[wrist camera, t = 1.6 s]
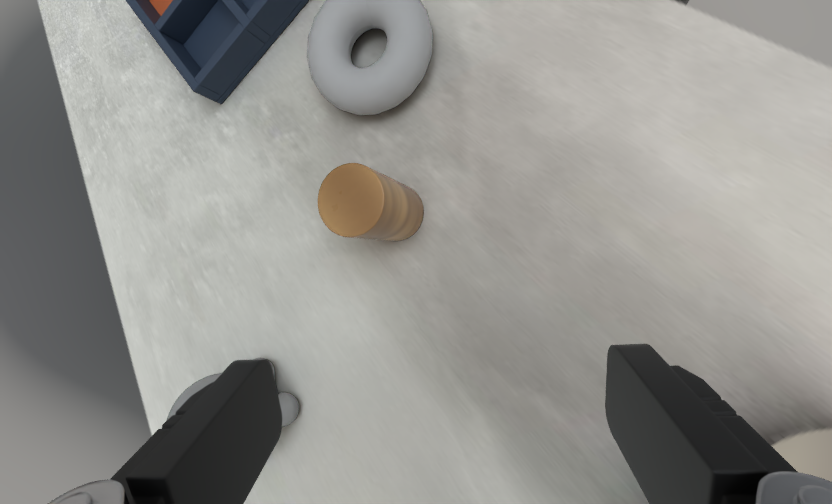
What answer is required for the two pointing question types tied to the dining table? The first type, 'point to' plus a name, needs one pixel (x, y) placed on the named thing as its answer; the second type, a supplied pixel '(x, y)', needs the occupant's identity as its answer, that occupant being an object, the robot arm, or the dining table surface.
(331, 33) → the donut
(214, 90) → the grid
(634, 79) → the dining table surface
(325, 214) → the wooden dowel cylinder
